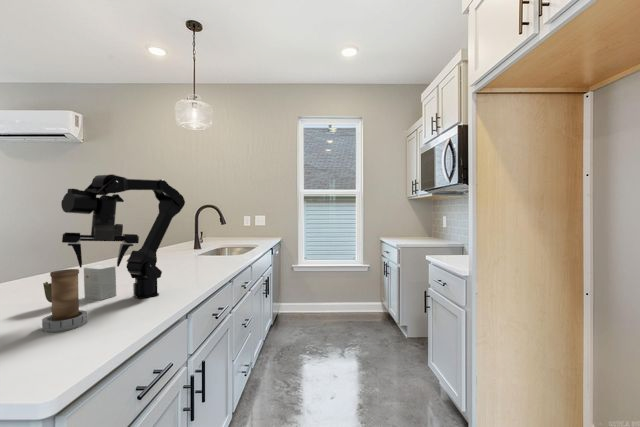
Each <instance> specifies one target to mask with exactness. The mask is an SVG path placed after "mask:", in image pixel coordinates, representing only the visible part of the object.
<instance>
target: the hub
mask: <svg viewBox="0 0 640 427" xmlns="http://www.w3.org/2000/svg"><path fill="white" fill-rule="evenodd" d="M87 322H88V312H87V310H81V309H79V316H78V317H75V318H72V319H67V320H62V321H52V314H50V315H47V316H45V317H43V318H42V319H41V324H42V325H41V327H42V332H44V333H59V332H60V333H61V332H66V331H70V330H76V329H78V328H79V327H83V326H84V325H86V324H87Z"/></svg>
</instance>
